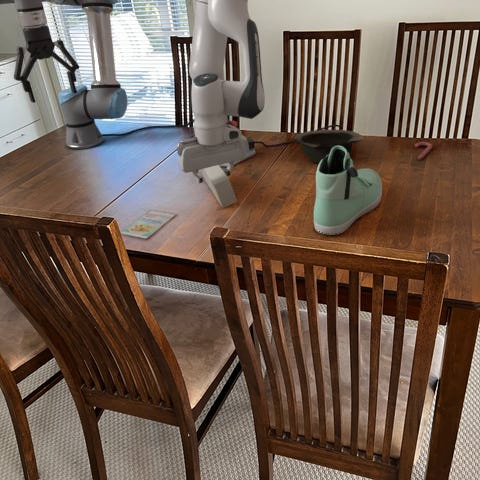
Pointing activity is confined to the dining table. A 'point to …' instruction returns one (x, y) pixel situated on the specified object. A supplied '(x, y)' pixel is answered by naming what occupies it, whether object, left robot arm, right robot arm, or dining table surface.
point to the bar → (219, 185)
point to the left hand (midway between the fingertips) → (54, 97)
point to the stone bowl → (325, 142)
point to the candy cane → (425, 149)
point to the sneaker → (343, 192)
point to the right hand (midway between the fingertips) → (214, 178)
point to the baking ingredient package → (147, 224)
